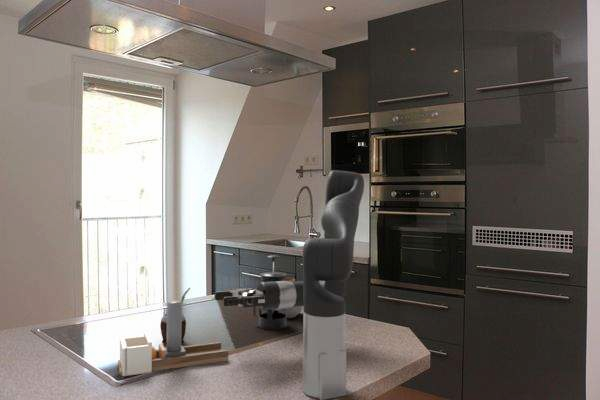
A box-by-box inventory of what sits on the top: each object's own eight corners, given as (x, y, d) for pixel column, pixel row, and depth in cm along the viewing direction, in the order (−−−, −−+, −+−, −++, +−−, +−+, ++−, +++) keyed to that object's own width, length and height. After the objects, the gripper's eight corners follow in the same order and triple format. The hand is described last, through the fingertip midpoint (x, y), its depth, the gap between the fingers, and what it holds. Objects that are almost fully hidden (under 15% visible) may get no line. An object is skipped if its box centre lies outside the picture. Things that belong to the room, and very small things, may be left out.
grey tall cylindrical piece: (186, 359, 116) (186, 303, 116) (162, 362, 114) (162, 305, 114) (181, 352, 122) (182, 299, 121) (158, 355, 119) (159, 301, 119)
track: (228, 360, 120) (228, 350, 120) (120, 375, 109) (120, 365, 109) (220, 351, 127) (220, 341, 127) (117, 364, 116) (117, 354, 116)
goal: (151, 372, 111) (151, 342, 111) (122, 376, 109) (122, 345, 109) (146, 359, 120) (147, 332, 119) (119, 363, 117) (120, 334, 117)
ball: (136, 356, 112) (147, 368, 113) (150, 344, 114) (160, 356, 115) (135, 351, 116) (145, 362, 117) (148, 340, 117) (158, 351, 118)
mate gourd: (157, 346, 131) (157, 292, 131) (164, 337, 139) (165, 287, 138) (184, 346, 131) (184, 292, 131) (190, 337, 139) (190, 287, 139)
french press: (291, 322, 156) (292, 254, 156) (285, 330, 147) (286, 257, 147) (257, 320, 158) (258, 253, 158) (249, 328, 149) (250, 256, 149)
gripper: (267, 278, 136) (212, 280, 129) (286, 285, 123) (227, 288, 116) (266, 304, 135) (211, 308, 129) (286, 314, 123) (226, 318, 116)
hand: (219, 298), depth 122 cm, fingers open, 8 cm apart
